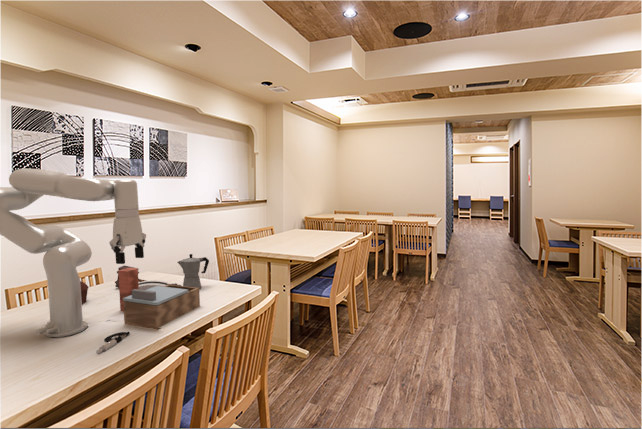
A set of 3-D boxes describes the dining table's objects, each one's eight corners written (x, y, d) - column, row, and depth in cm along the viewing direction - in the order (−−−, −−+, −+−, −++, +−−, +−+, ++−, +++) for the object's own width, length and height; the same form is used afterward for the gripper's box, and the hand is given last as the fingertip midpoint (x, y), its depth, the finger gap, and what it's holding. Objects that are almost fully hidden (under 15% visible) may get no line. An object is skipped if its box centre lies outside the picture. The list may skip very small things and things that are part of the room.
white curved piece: (171, 294, 171) (170, 277, 167) (170, 301, 167) (168, 283, 163) (133, 297, 167) (130, 279, 163) (131, 303, 163) (128, 286, 159)
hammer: (121, 283, 186) (124, 264, 185) (181, 296, 185) (184, 278, 184) (113, 286, 180) (116, 267, 178) (175, 300, 178) (178, 281, 177)
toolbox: (158, 330, 130) (157, 306, 130) (124, 324, 136) (123, 301, 135) (199, 308, 153) (199, 287, 152) (169, 304, 158) (169, 284, 157)
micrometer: (114, 334, 128) (113, 327, 128) (132, 335, 127) (132, 328, 127) (80, 354, 113) (80, 346, 113) (101, 355, 112) (100, 347, 112)
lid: (157, 305, 130) (156, 294, 129) (123, 300, 135) (122, 290, 134) (188, 291, 146) (188, 282, 145) (157, 288, 151) (156, 278, 150)
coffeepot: (179, 293, 174) (178, 257, 172) (176, 288, 182) (175, 253, 180) (211, 288, 182) (211, 253, 180) (207, 284, 190) (206, 250, 188)
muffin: (94, 302, 160) (92, 280, 159) (65, 309, 151) (64, 286, 150) (82, 297, 167) (80, 276, 166) (54, 304, 158) (52, 282, 157)
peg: (129, 314, 146) (127, 271, 144) (120, 313, 147) (118, 270, 146) (139, 310, 150) (137, 268, 149) (130, 309, 152) (128, 267, 150)
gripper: (134, 211, 137) (137, 255, 139) (99, 216, 120) (102, 265, 122) (152, 211, 136) (154, 255, 137) (118, 216, 119) (122, 266, 121)
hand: (130, 260), depth 130 cm, fingers open, 9 cm apart
